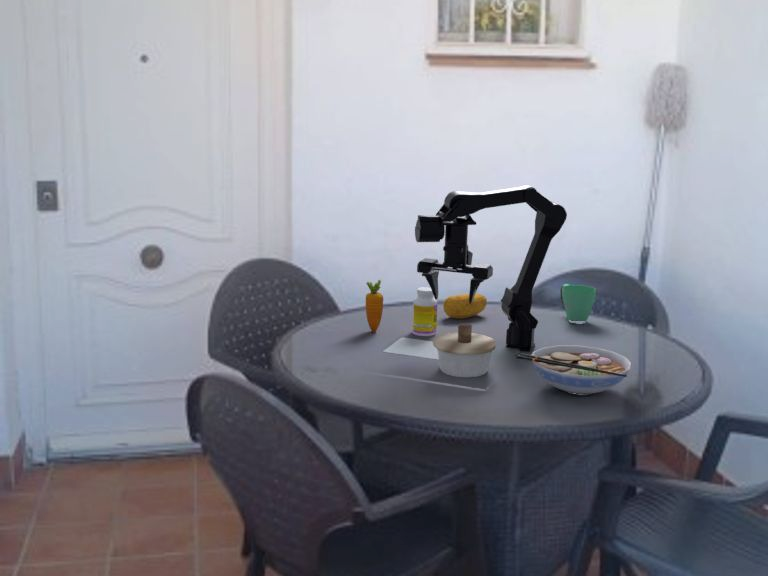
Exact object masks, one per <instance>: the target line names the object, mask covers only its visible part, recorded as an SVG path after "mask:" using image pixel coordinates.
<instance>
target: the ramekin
mask: <svg viewBox="0 0 768 576" xmlns="http://www.w3.org/2000/svg"><path fill="white" fill-rule="evenodd" d="M437 351H438V357H439V360H438V366H439V369H440V371H441V372H442V373H443V374H445V375H448V376H452V377H456V378H476V377H481V376H484V375H485V374H486V373H487V372H488V370H489V365H490V361H491V355H492V352H493V351H491V352H488V353H484V354H476V355H462V354H453V353H448V352H444V351H441V350H439V349H437Z"/></svg>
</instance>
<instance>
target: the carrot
mask: <svg viewBox="0 0 768 576" xmlns="http://www.w3.org/2000/svg"><path fill="white" fill-rule="evenodd" d="M381 282H382V280H381V279H378V280H377V282H375V283H374V284H373V282H372V281H370V282H369V281H367V282H366V285H367V287H368V289H369V290H370V292H368V293H367V294H366V295H365V314H366V319H367V320H366V321H367V323H368V327H369V330H370V331H371V332H372V333H376V332H377V331H378V328H379V327H380V324H381V321H382V316H383V308H384V296H383V294H381V292H378V291H379V290H380V288H381Z"/></svg>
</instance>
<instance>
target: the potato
mask: <svg viewBox="0 0 768 576" xmlns="http://www.w3.org/2000/svg"><path fill="white" fill-rule="evenodd" d="M486 307H487V298H486V296H485V295H483V294H481V293H478V292H476V294H475V296H474V299H473V301H472V303H471V304H470V303H469V293H462V294H456V295H450V296H448V297H447V298H445V300H444V301H443V312H444V313H445V315H446V316H448V317H449V318H452V319H467V318H470V317H471V318H472V317H474V316H477V315H479V314H480V313H481V312H483V311H484V310H485V308H486Z"/></svg>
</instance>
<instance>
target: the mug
mask: <svg viewBox="0 0 768 576" xmlns="http://www.w3.org/2000/svg"><path fill="white" fill-rule="evenodd" d="M597 290H598V289H596V288H595V287H592V286H589V285H581V284H569V283H564V284H562V285H561V288H560V299H561V303H562V307H563V309H564V311H565V315H566V318H567V321H568V320H571V321H586V320H587V321H588V318H589V317H590V315H591V312H592V310H593V307H594V303H595V299H596V296H597ZM587 321H586V322H587Z"/></svg>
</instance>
